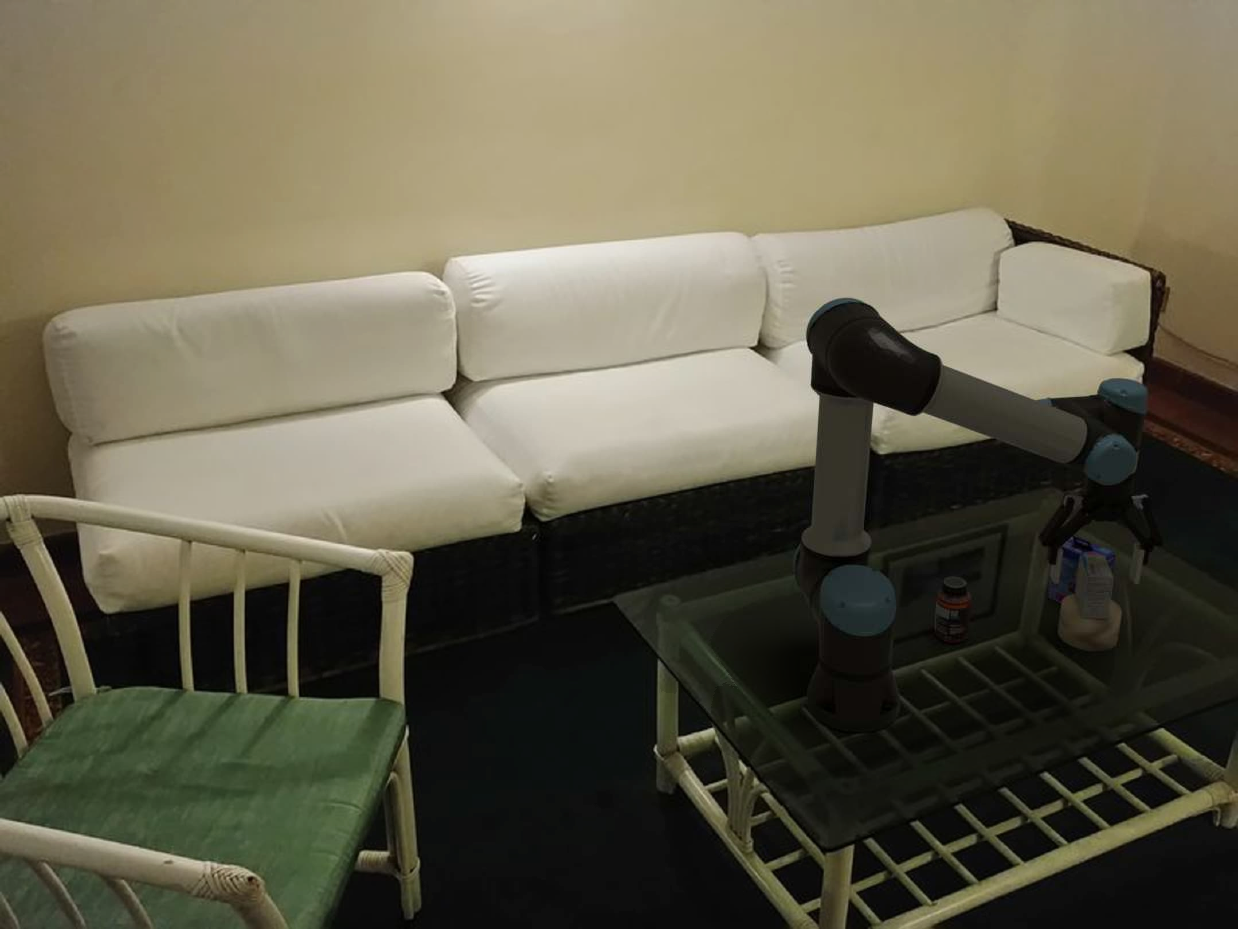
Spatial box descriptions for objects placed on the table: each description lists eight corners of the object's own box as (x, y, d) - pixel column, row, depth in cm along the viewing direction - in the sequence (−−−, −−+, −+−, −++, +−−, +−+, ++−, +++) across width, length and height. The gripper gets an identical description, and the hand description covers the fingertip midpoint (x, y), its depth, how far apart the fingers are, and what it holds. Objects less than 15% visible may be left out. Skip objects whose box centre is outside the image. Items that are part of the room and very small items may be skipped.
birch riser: (1066, 651, 199) (1070, 622, 197) (1051, 621, 208) (1054, 593, 206) (1125, 652, 198) (1129, 623, 196) (1107, 621, 207) (1111, 593, 205)
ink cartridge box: (1044, 598, 215) (1053, 530, 209) (1061, 588, 218) (1070, 521, 212) (1092, 619, 208) (1102, 549, 202) (1108, 608, 211) (1119, 539, 205)
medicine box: (1108, 620, 197) (1115, 577, 193) (1081, 619, 197) (1087, 575, 194) (1099, 597, 204) (1106, 555, 200) (1073, 595, 205) (1079, 553, 201)
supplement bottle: (955, 624, 208) (960, 570, 204) (974, 640, 203) (980, 586, 199) (927, 630, 207) (931, 577, 202) (945, 647, 202) (950, 592, 197)
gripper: (1041, 479, 187) (1026, 590, 196) (1197, 479, 185) (1175, 591, 194) (1029, 460, 194) (1015, 568, 203) (1179, 460, 192) (1159, 569, 201)
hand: (1093, 580), depth 198 cm, fingers open, 13 cm apart
